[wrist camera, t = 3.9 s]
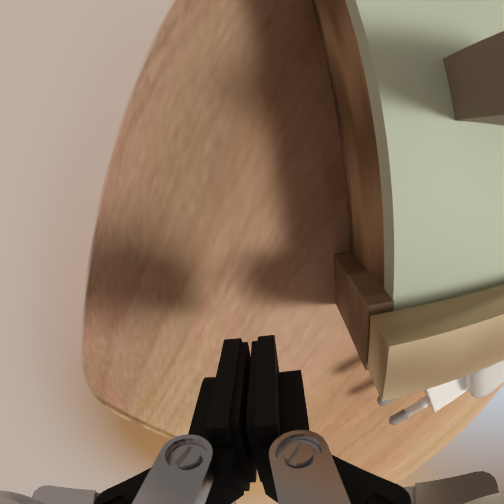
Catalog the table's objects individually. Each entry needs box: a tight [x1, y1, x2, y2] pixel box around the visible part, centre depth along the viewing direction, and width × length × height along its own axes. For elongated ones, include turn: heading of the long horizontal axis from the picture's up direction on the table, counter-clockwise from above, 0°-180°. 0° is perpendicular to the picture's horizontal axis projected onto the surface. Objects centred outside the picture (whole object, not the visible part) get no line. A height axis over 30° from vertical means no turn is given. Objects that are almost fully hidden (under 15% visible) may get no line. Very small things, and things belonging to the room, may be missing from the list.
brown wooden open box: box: [312, 0, 394, 370], centre depth 11 cm, size 18×14×6 cm
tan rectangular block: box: [367, 284, 504, 401], centre depth 9 cm, size 2×10×2 cm, turn 98°
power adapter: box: [377, 360, 504, 425], centre depth 14 cm, size 11×5×6 cm, turn 124°
